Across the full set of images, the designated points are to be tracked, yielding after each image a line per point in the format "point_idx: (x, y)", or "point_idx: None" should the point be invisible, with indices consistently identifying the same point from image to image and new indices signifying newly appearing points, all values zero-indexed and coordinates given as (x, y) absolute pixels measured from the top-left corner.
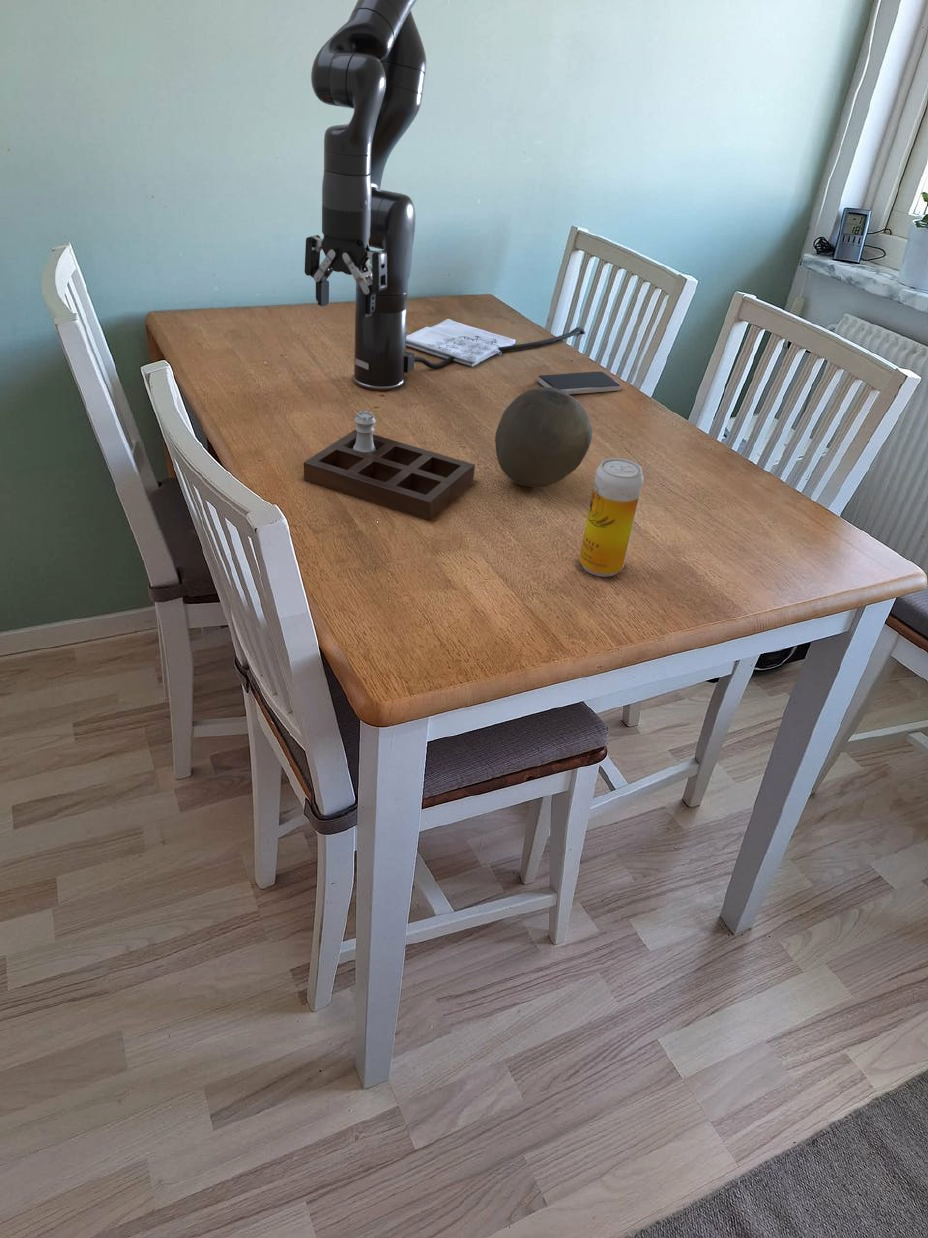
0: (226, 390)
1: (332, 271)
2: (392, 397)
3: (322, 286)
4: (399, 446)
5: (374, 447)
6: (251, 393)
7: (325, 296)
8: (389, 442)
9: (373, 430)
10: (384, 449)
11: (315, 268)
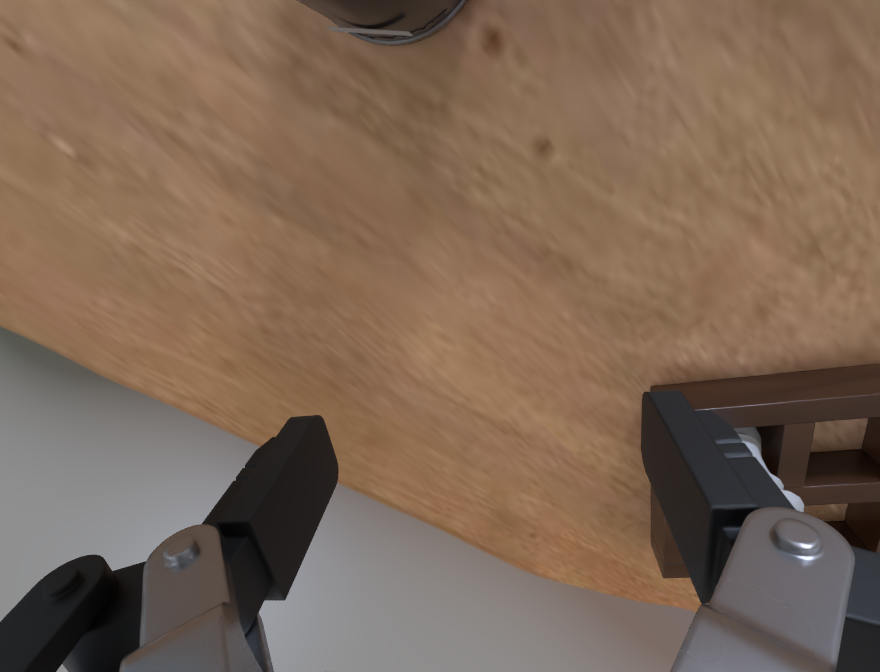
0: (207, 362)
1: (232, 603)
2: (529, 19)
3: (291, 566)
4: (829, 419)
5: (757, 445)
6: (251, 335)
7: (309, 474)
8: (791, 417)
9: (782, 485)
10: (797, 452)
11: (109, 652)
